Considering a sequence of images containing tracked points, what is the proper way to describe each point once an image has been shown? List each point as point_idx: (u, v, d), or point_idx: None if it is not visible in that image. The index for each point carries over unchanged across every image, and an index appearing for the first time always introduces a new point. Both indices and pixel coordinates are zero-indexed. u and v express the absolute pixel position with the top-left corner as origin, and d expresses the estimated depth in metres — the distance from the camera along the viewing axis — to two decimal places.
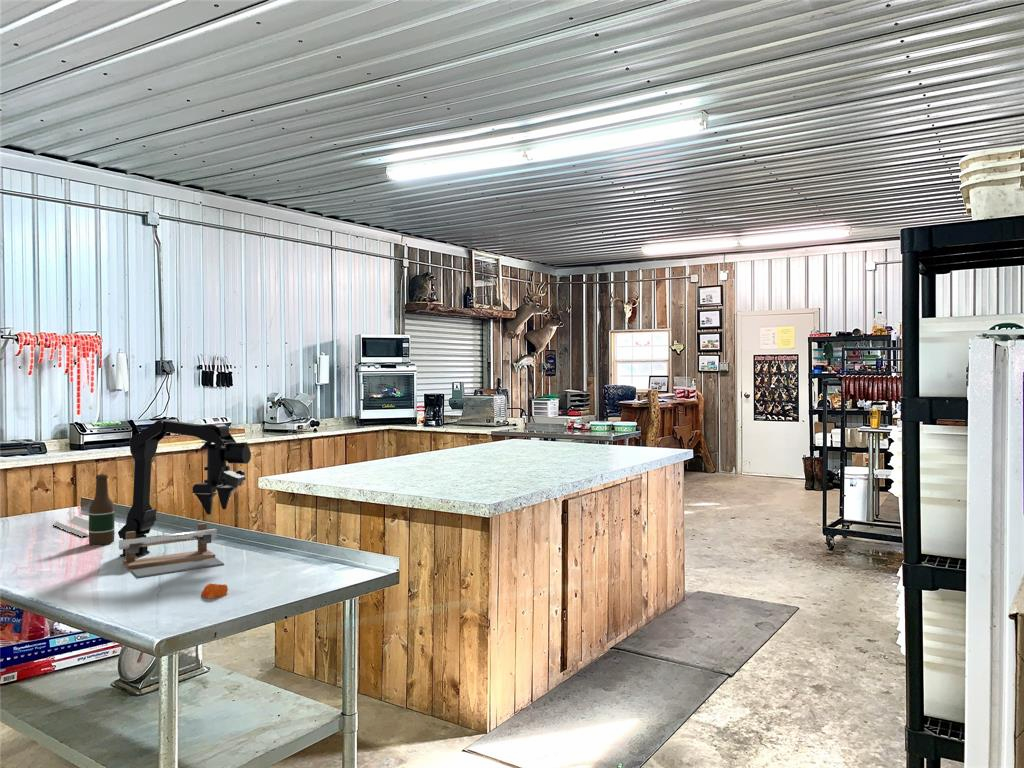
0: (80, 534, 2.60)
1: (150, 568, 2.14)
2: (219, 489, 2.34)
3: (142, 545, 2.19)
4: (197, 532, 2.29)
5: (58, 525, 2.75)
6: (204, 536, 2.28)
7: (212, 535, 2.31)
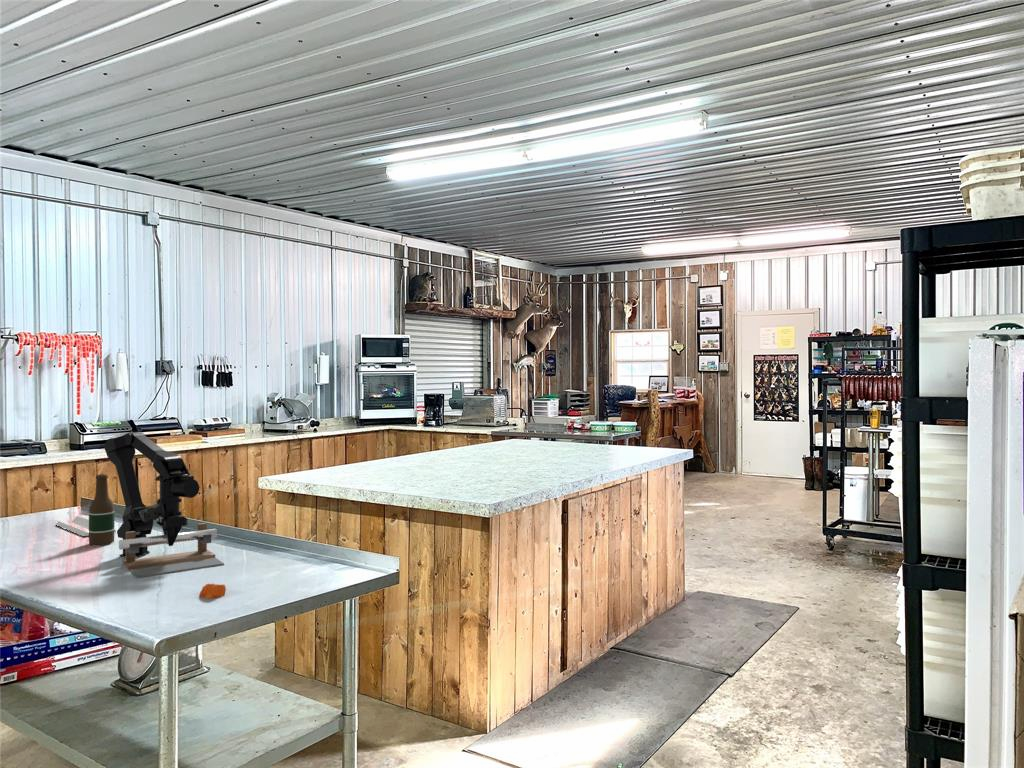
0: (82, 534, 2.60)
1: (150, 568, 2.14)
2: None
3: (142, 545, 2.19)
4: (197, 532, 2.29)
5: (60, 525, 2.76)
6: (204, 536, 2.28)
7: (212, 535, 2.31)
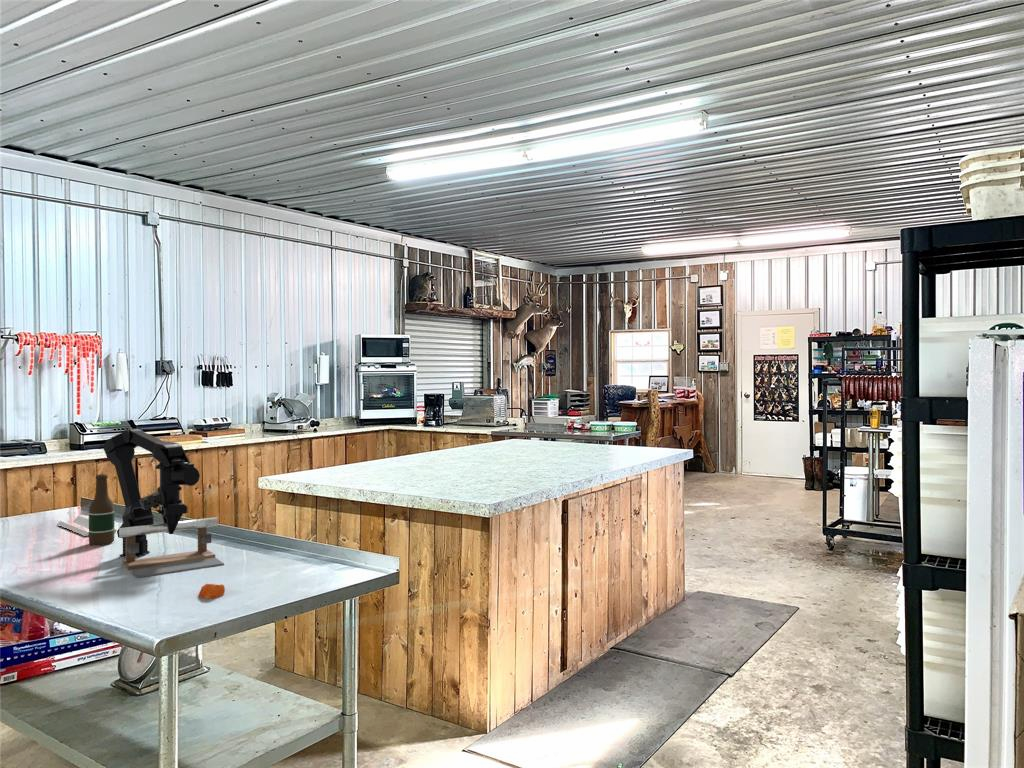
0: (83, 533, 2.61)
1: (150, 568, 2.14)
2: None
3: (143, 533, 2.19)
4: (197, 520, 2.29)
5: (62, 524, 2.77)
6: (204, 536, 2.28)
7: (212, 524, 2.31)
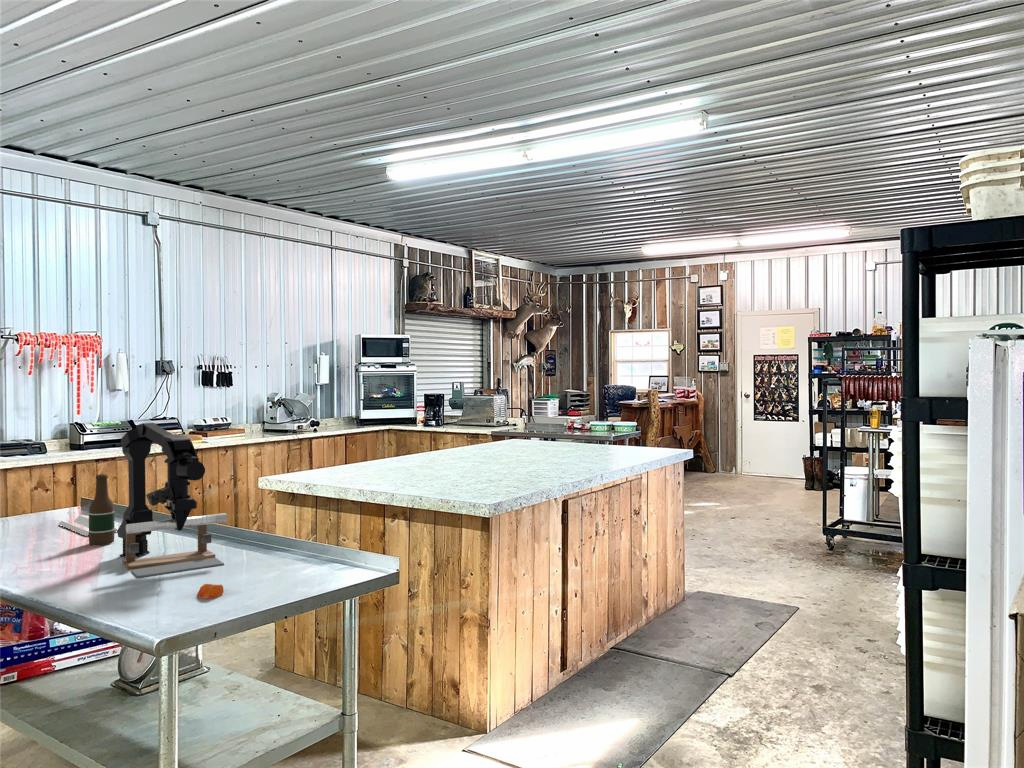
0: (84, 533, 2.61)
1: (150, 568, 2.14)
2: None
3: (150, 530, 2.11)
4: (206, 516, 2.21)
5: (63, 524, 2.77)
6: (204, 536, 2.28)
7: (222, 519, 2.24)
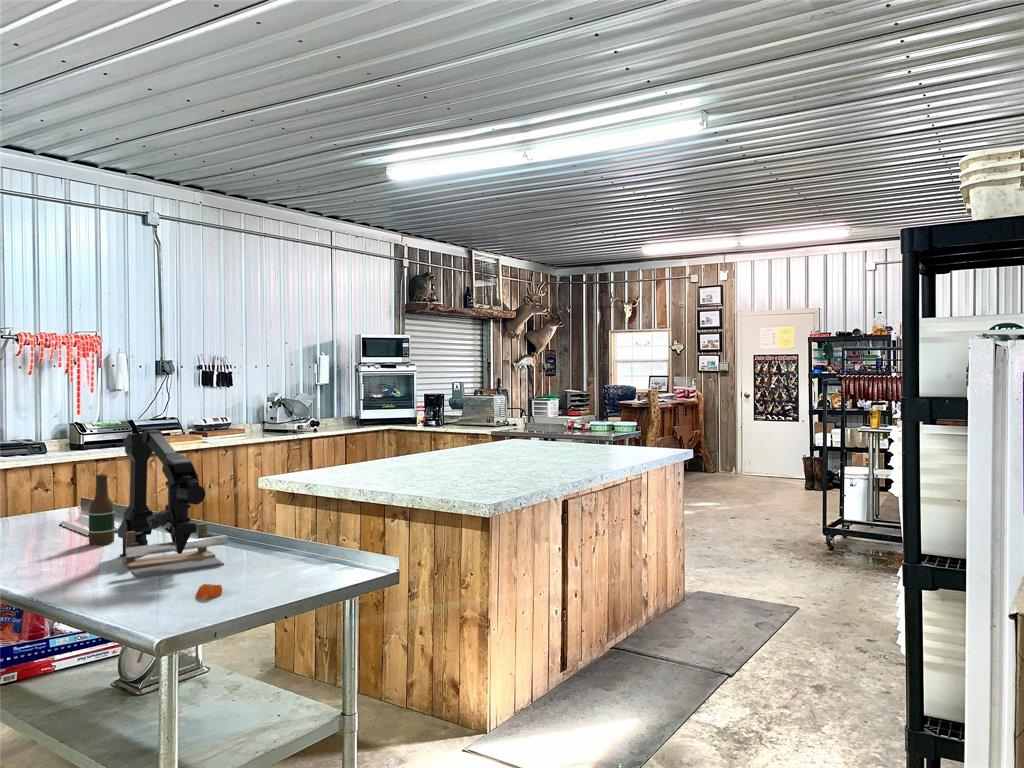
0: (86, 533, 2.61)
1: (150, 568, 2.14)
2: None
3: (150, 553, 2.10)
4: (207, 539, 2.20)
5: (64, 524, 2.77)
6: (204, 536, 2.28)
7: (222, 542, 2.23)
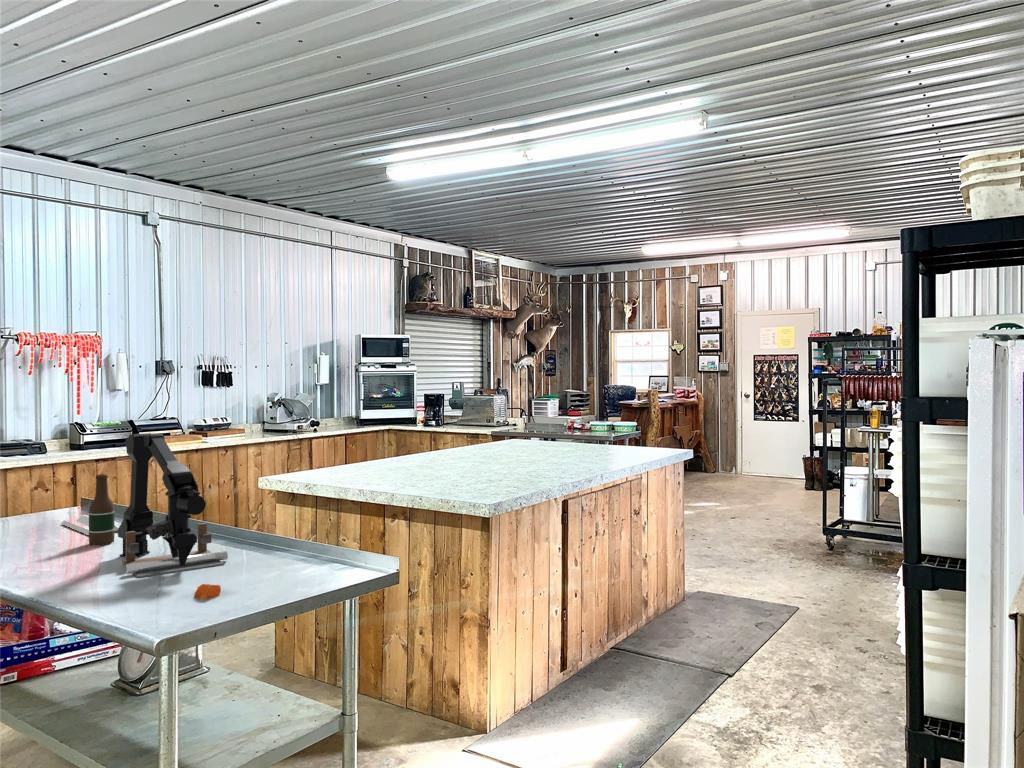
0: (87, 533, 2.62)
1: None
2: None
3: (150, 569, 2.10)
4: (207, 554, 2.20)
5: (66, 524, 2.78)
6: (204, 536, 2.28)
7: (222, 557, 2.23)
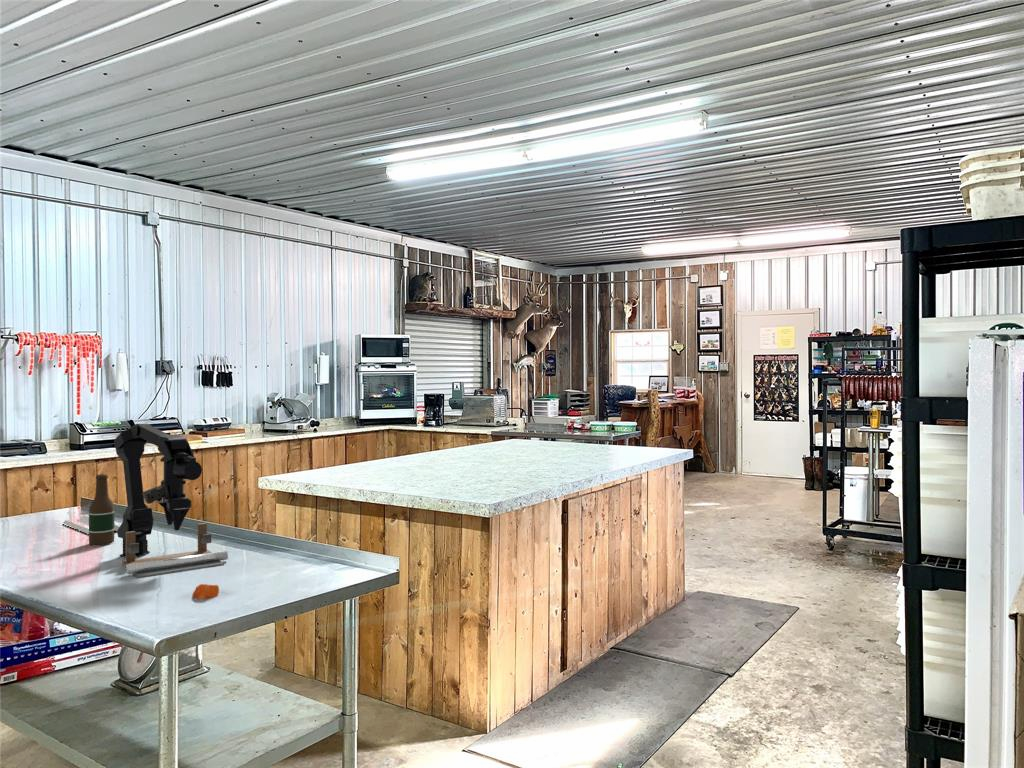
0: None
1: None
2: None
3: (150, 570, 2.10)
4: (207, 555, 2.20)
5: (67, 524, 2.78)
6: (204, 536, 2.28)
7: (222, 558, 2.23)
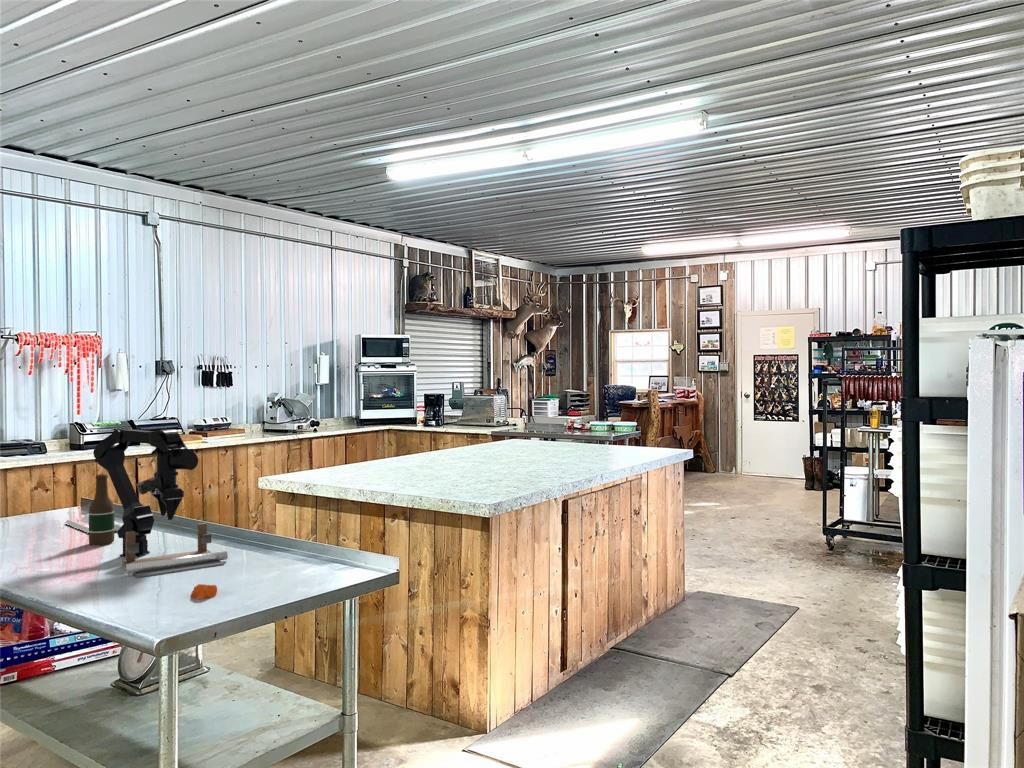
0: None
1: None
2: None
3: (150, 569, 2.10)
4: (207, 554, 2.21)
5: (69, 523, 2.79)
6: (204, 536, 2.28)
7: (222, 557, 2.23)
